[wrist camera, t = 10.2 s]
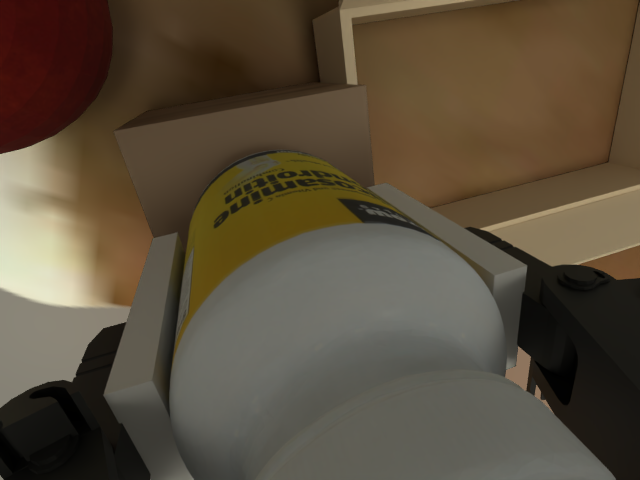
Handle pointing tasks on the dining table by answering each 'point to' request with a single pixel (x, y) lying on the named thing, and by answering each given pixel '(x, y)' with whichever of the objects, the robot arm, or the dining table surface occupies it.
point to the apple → (50, 65)
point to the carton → (535, 197)
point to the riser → (239, 143)
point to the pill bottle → (344, 344)
